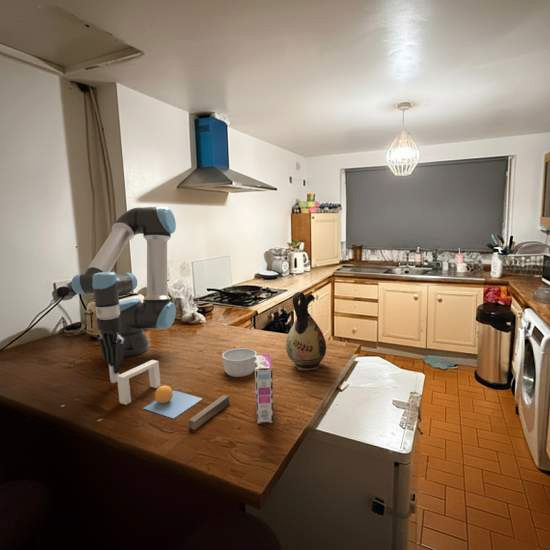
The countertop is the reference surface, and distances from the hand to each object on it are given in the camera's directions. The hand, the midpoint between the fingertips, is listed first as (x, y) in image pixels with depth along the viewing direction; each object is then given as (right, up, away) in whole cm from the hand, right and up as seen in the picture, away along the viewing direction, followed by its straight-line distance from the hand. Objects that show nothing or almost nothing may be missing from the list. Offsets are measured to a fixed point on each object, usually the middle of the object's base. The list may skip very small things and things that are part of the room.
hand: (115, 381), depth 126 cm
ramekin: (+43, +1, +10) cm, 45 cm away
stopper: (+38, -4, -21) cm, 43 cm away
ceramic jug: (+69, +2, +12) cm, 70 cm away
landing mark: (+25, -3, -13) cm, 28 cm away
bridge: (+11, -3, -6) cm, 13 cm away
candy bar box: (+54, -4, -20) cm, 58 cm away
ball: (+21, 0, -13) cm, 25 cm away
